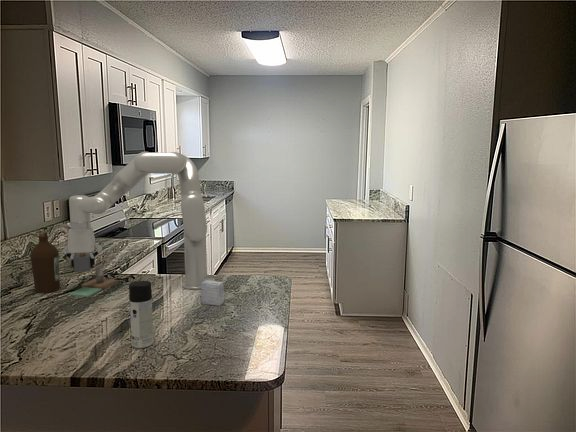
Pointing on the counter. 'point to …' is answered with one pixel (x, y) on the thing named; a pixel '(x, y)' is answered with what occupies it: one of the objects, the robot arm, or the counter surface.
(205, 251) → the robot arm
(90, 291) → the mat
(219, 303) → the medicine box
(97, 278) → the post stand
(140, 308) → the spray can
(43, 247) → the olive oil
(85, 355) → the counter surface
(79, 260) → the gift box
